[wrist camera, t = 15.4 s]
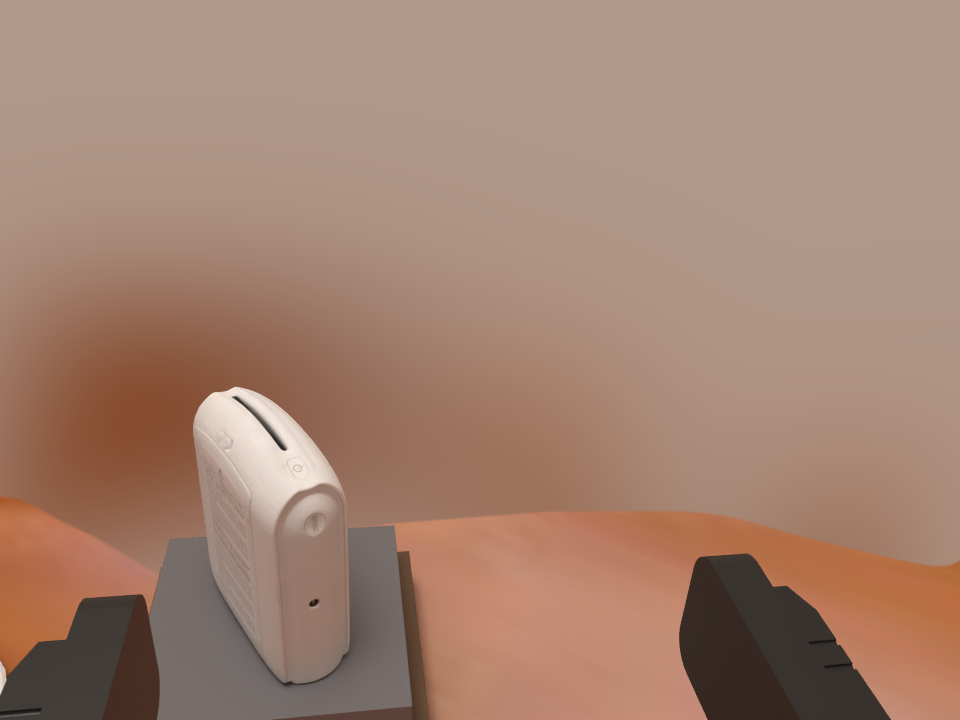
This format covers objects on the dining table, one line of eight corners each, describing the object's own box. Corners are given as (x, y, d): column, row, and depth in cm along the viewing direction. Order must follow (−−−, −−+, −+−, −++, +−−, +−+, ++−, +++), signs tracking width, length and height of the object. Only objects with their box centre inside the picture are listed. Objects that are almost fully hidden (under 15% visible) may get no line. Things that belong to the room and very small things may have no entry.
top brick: (130, 776, 39) (120, 734, 37) (175, 577, 50) (169, 539, 48) (411, 747, 41) (412, 706, 39) (394, 563, 52) (394, 525, 50)
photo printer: (363, 661, 41) (359, 456, 35) (283, 702, 39) (264, 491, 33) (274, 544, 48) (258, 357, 42) (201, 573, 46) (174, 379, 40)
